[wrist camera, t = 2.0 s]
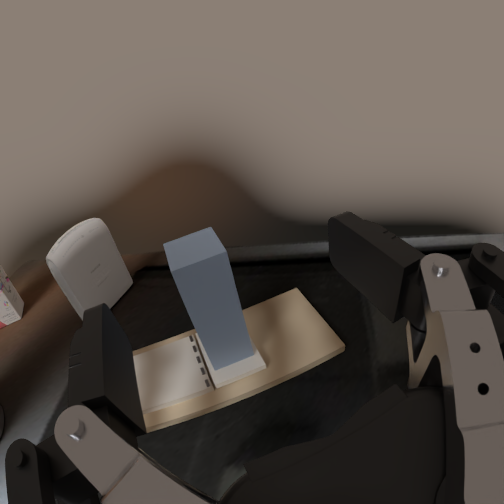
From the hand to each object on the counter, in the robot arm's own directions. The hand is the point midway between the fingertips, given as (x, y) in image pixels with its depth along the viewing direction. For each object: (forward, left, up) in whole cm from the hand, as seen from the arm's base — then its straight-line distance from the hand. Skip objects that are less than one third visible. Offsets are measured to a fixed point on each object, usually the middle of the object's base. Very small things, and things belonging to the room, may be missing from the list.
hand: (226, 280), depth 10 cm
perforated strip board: (-8, +8, -19) cm, 22 cm away
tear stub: (-6, +10, -18) cm, 21 cm away
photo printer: (-26, +18, -19) cm, 37 cm away
